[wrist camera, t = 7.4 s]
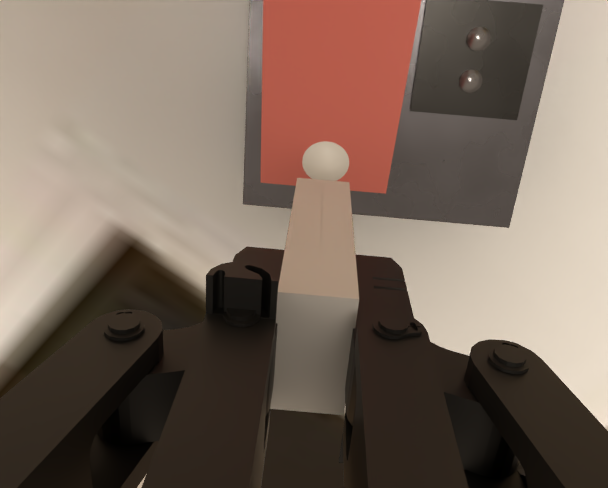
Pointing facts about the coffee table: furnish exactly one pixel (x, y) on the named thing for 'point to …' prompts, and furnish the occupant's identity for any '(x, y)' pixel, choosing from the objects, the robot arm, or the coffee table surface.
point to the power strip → (444, 113)
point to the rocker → (334, 89)
